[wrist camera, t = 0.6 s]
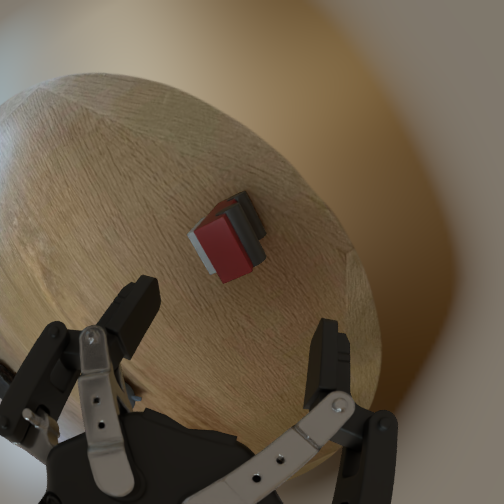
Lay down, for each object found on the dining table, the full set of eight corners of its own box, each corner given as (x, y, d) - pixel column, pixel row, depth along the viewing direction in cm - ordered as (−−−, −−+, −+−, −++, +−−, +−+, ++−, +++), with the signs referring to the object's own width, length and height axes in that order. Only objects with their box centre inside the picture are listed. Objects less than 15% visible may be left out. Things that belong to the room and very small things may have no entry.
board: (51, 410, 48) (43, 423, 43) (24, 409, 52) (17, 418, 47) (-2, 345, 41) (-13, 357, 37) (-19, 355, 46) (-28, 364, 41)
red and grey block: (205, 209, 28) (175, 238, 19) (246, 188, 27) (236, 207, 18) (225, 247, 29) (207, 292, 20) (266, 228, 29) (266, 267, 19)
